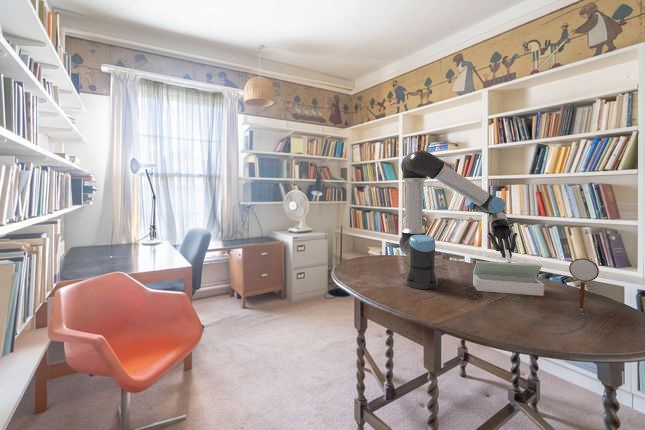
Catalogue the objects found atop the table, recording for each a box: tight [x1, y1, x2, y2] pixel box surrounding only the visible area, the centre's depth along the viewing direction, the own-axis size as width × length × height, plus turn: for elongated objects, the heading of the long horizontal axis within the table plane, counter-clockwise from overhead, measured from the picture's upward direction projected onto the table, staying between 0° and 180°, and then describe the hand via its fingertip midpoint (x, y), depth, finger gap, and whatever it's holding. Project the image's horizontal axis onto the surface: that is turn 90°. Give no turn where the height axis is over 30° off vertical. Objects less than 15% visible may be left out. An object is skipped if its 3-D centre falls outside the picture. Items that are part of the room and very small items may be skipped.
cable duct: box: [472, 274, 545, 297], centre depth 142 cm, size 26×10×5 cm, turn 74°
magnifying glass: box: [568, 257, 600, 311], centre depth 116 cm, size 9×2×20 cm, turn 39°
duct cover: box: [472, 260, 543, 279], centre depth 143 cm, size 26×10×1 cm
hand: (508, 263), depth 141 cm, fingers closed
